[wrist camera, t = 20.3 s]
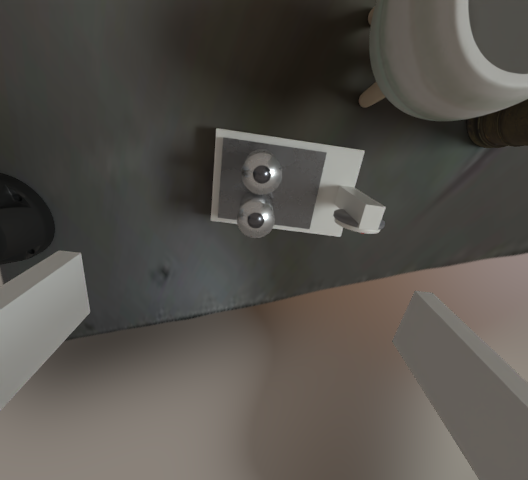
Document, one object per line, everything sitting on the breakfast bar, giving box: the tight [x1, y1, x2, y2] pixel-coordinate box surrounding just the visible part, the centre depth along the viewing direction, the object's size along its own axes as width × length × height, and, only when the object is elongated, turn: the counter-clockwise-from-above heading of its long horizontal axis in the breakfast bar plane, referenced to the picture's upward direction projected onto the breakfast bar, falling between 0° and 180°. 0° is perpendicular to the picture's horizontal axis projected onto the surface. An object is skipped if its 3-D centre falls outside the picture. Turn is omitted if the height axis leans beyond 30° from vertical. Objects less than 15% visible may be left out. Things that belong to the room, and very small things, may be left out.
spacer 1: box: [242, 149, 282, 195], centre depth 34 cm, size 5×5×7 cm
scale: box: [211, 128, 386, 237], centre depth 36 cm, size 24×14×14 cm, turn 82°
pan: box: [218, 137, 327, 229], centre depth 39 cm, size 15×12×1 cm
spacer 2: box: [237, 191, 275, 238], centre depth 37 cm, size 5×5×7 cm
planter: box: [359, 0, 528, 121], centre depth 26 cm, size 16×16×22 cm
